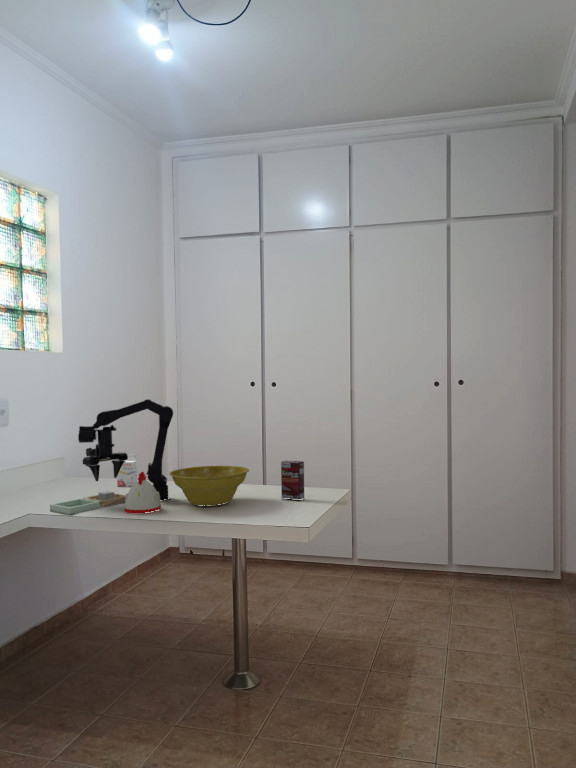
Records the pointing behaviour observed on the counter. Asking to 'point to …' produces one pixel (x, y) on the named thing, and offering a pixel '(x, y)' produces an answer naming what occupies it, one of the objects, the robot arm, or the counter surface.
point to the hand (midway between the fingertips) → (106, 479)
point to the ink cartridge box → (128, 472)
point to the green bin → (74, 506)
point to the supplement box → (292, 479)
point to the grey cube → (106, 495)
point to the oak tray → (117, 499)
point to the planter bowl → (209, 483)
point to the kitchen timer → (142, 497)
